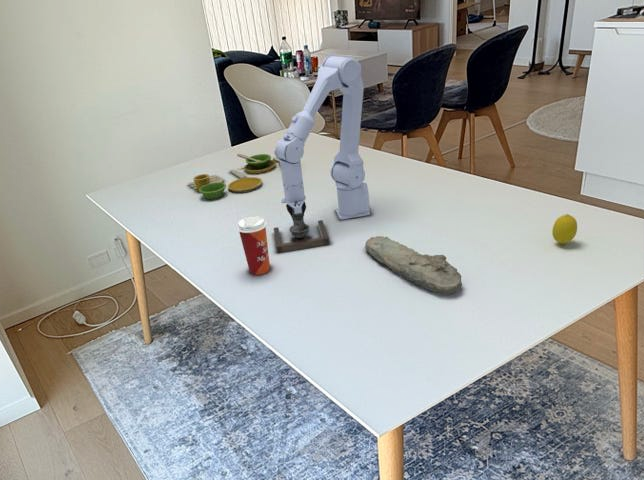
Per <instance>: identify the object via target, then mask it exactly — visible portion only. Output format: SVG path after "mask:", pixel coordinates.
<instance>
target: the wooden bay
mask: <svg viewBox="0 0 644 480" xmlns="http://www.w3.org/2000/svg"><path fill="white" fill-rule="evenodd" d="M317 227H318V230H319V234H320V236H319V237H315V238H310V239H307V240H301V241H295V242H292V241H289V242H284V243H282V239H281V234H280V228H279V226H276V227H273V233H274V240H275V246H276V247H275V248H276V252H277V254H279V253H286V252H287V253H288V252H292V251H299V250H304V249H310V248H317V247H322V246H329V245H330V237H329V235H328V232H327V229H326V226H325V223H324V221H323V219H320V220H317Z"/></svg>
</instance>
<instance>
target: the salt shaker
mask: <svg viewBox="0 0 644 480" xmlns="http://www.w3.org/2000/svg"><path fill="white" fill-rule="evenodd" d="M294 204H295V205H293V206H294V207H296V204H297V205H298V206H300V204H298V203H297V201H295V203H294ZM301 210H302V207H301ZM292 213H293V215H292V217H291V219H292V218H293V220H292V222H293V223H292V226H290V227H289V232H290V233H291V235H292V236H293V238H292V239H291V242H295V241H301V240H307V239H311V237H310V236H309V235H308V234H309V232H310V231H309V230H310V228H311V227H310V225H309V224H306V223H305V220H304V217H305V213H304V214H303V212H302V213H298V214H295V212H294V208H292ZM303 216H304V217H303Z"/></svg>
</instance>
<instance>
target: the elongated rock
mask: <svg viewBox="0 0 644 480" xmlns="http://www.w3.org/2000/svg"><path fill="white" fill-rule="evenodd" d="M364 244H365V246H364V249H365V251H366V252H367V253H369V255H370V256H372V257H374V259H375V260H377V261H378V262H379V263H381V264H384V265H385V266H386V267H388V269H391V271H392V272H394V273H398V274H400V275H402V276H403V277H405V278H406V280H408V281H411V282H412V283H415V284H417V285H419V286H420V287H422V288H423V289H426V290H427V291H430V290H431V291H432V292H435V293H439V294H443V295H452V294H455V293H457V292H458V291H460V290H461V289H462V287H463V281H462V274H460V272H459V271H458V269H457V268H456V267H454V266H453V265H451V264H450V263H449V262H448V261H447V256H445V255H444V254H433V255H430V254H421V253H419V252H418V251H415V250H414V249H413V248H409V247H408V246H406V245H404V244H402V243H400V242H398V241H395V240H393V239H391V238H390V237H388V236H383V235H379V236H378V235H377V236H372V237H369V239H367V240H366V242H365V243H364Z"/></svg>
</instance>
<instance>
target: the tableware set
mask: <svg viewBox="0 0 644 480" xmlns="http://www.w3.org/2000/svg"><path fill="white" fill-rule="evenodd" d="M236 157H239V158H241V159H245V163H246V164H245V165H244V166H243V170H244V171H246V173H248V174H261V173H266V172H269V171H271V170H272V169H273V170H274V168H275V167H276V165H277V163H278V164H280V161H279V159H278V158H277V157H276V156H274V157H272V156H271V155H270V154H269V153H268V154H266V153H262V154H261V153H259V154H254V155H251V156H248V155H245V154H242V153H240V152H239V153H236ZM229 172H230V173H231V174H232V175H234V176H236V177H237V178H238V179H235V180H233V181H231V182H229V183H228V185H227V184H226V183H225V182H224V179H223V178H221V177H218V175H217V174H212V175H209V174H208V173H202V174H197V175H195V176H194V177H193V178H192V180H193V181H191V182H188V186H189V187H190V188H191V189H193V190H194V191H197V192H199V193H200V194H202V195H203V196H204V198H205V199H206V200H216V199H219V198H221V197H222V196H223V195H224V192H225V190H226V188H228V189H229V190H230V191H232V192H234V193H246V192H250V191H253V190H256V189H257V188H259V187H261V184H262V183H263V180H262V178H260V177H257V176H248V177H246V176H247V175H245V174H244V173H242V172H240V171H239V172H238V171H236V170H234V169H230V170H229Z"/></svg>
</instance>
